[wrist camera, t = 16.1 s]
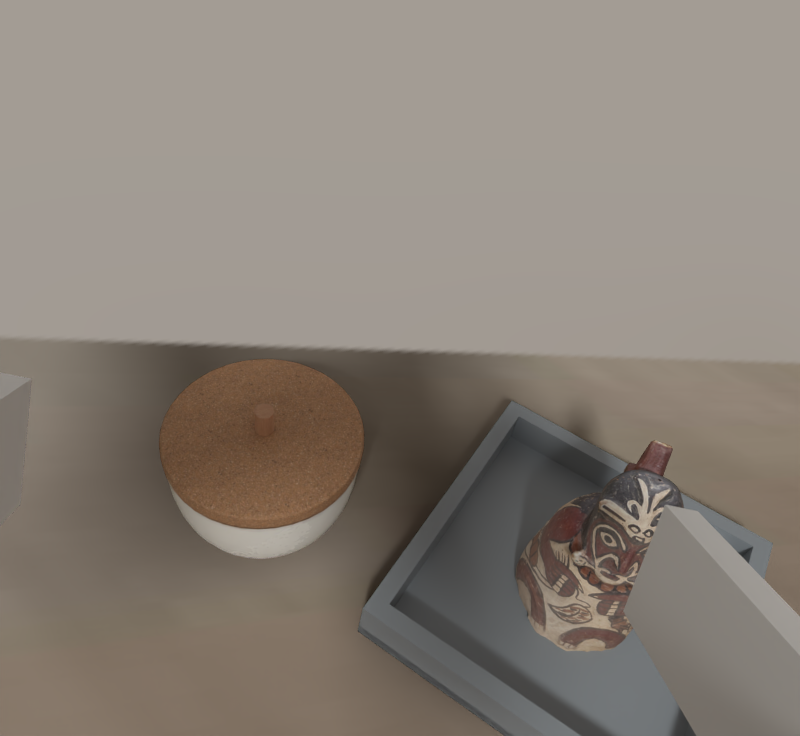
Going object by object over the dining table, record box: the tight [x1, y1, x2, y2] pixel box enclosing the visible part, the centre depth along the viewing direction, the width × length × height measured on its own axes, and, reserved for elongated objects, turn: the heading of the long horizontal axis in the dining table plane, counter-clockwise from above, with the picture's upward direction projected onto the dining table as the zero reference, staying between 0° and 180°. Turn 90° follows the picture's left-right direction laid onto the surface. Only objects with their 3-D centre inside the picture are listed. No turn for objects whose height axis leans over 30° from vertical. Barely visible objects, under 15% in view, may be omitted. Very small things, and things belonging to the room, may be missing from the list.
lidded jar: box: [159, 359, 364, 559], centre depth 38 cm, size 11×11×9 cm
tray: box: [358, 401, 773, 736], centre depth 39 cm, size 18×18×3 cm
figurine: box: [515, 440, 684, 652], centre depth 35 cm, size 7×7×12 cm
